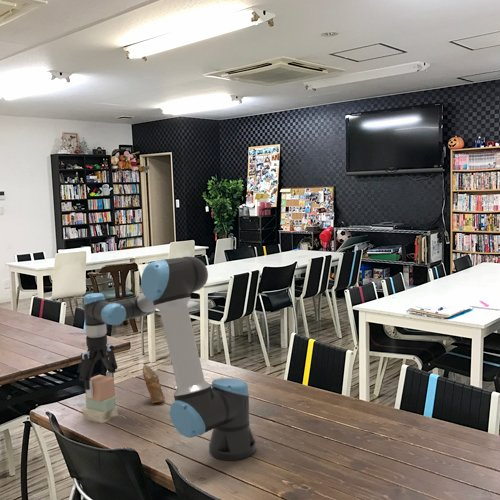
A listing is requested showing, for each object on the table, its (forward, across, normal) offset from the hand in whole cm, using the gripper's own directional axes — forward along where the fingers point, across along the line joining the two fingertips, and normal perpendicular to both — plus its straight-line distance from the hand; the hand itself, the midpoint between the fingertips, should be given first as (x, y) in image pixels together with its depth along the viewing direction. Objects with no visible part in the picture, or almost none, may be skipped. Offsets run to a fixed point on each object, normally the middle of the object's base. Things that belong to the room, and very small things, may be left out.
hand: (100, 393), depth 217 cm
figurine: (+9, -21, +8) cm, 24 cm away
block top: (+6, 0, 0) cm, 6 cm away
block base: (+10, +1, 0) cm, 10 cm away
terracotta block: (+2, 0, 0) cm, 2 cm away
